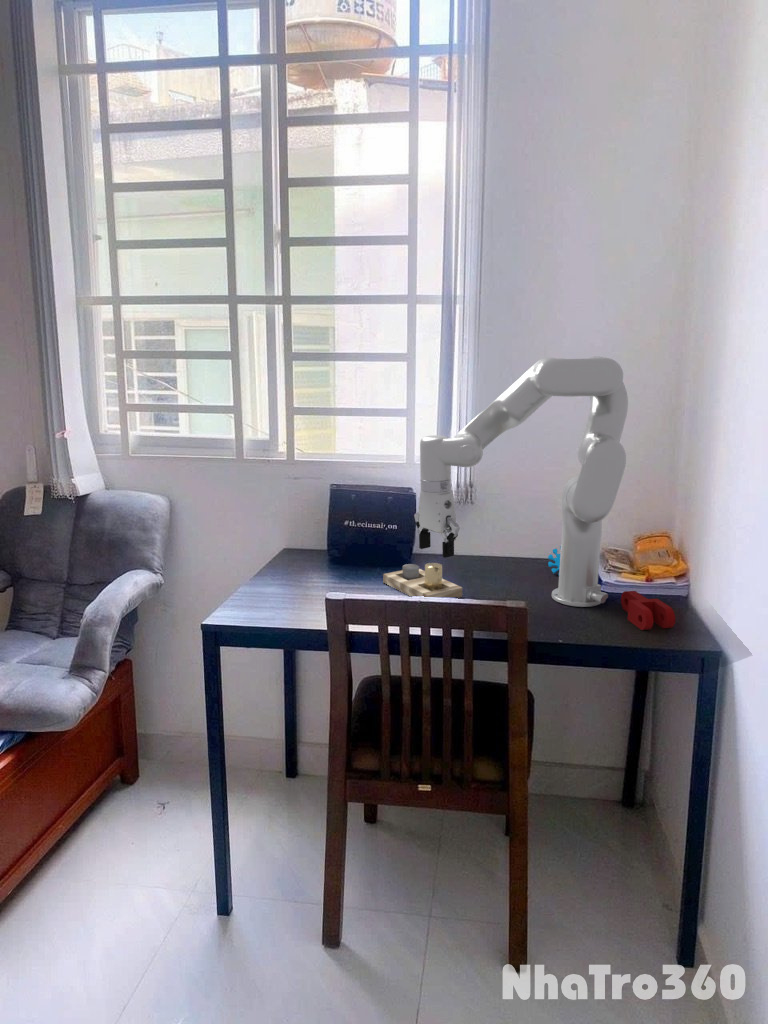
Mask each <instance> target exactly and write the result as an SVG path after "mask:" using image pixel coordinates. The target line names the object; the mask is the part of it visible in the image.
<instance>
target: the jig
mask: <svg viewBox="0 0 768 1024" xmlns="http://www.w3.org/2000/svg"><path fill="white" fill-rule="evenodd" d="M382 576H383V577H382V582H383V584H384V583H385V585H386V584H387V585H386V586H388V585H389V586H388V587H390V586H391V588H392V587H393V589H394V588H396V589H397V590H396V589H395V590H396V591H398V590H399V591H398V592H400V591H401V593H402V592H403V594H404V593H406V594H408V595H409V596H408V595H407V596H408V597H410V596H424V597H458V598H462V597H463V587H462V586H460V585H458V584H456V583H453V582H451V581H448V580H447V579H444V578H442V589H439V590H434V591H429V590H427V589H425V569H424V570H423V569H422V568H420V566H419V565H417V564H414V563H408V564H407V563H406V564H404V565H402V569H401V570H396V571H392V572H386V573H383V574H382ZM406 594H405V595H406ZM458 598H457V599H458Z"/></svg>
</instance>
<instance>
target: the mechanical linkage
mask: <svg viewBox="0 0 768 1024" xmlns="http://www.w3.org/2000/svg"><path fill="white" fill-rule="evenodd" d="M620 605H621V608H622V610H624V611H625V612H627V621H628V622H630V623H631V624H633V625H634V626H635V627H637V628H639V629H640V630H641V631H644V630H645V631H647V630H651V629H653V627H654V623H655V625H658V627H660V628H662V629H671V628H673V627H674V626H675V624H676V615H675V612H674V609H673V608H672V607H671V606H670V605H668V604H666V603H665V602H664V601H662V600H660V599H659V598H647V597H646V596H644V595H642V594H640V593H639V592H638V591H635V590H627V591H626V590H625V591H623V592H622V593H621V597H620Z"/></svg>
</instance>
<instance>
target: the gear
mask: <svg viewBox="0 0 768 1024" xmlns="http://www.w3.org/2000/svg"><path fill="white" fill-rule="evenodd" d="M559 548H560V550H561V545H560V546H559ZM552 553H553V554H554V555H555V556H556V557H553V556H554V555H553V554H549V555H548V557H547V559H548V560H550V561H548V562H547V564H548V567H549V568H551V572H552V574H556V573H557V572H559V569H560V553H558V549H557V548H554V549H552ZM552 561H553V562H552ZM552 567H553V568H552ZM555 567H556V568H555ZM558 576H559V573H558Z"/></svg>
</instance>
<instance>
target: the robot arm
mask: <svg viewBox="0 0 768 1024" xmlns="http://www.w3.org/2000/svg"><path fill="white" fill-rule="evenodd" d="M552 397H565V398H566V397H570V398H571V397H589V399H590V407H589V415H588V418H587V422H586V425H585V428H584V431H583V434H582V438H581V441H580V443H579V447H578V450H577V459H578V461H579V463H580V465H581V468H580V472H579V474H578V475H575V476H573V477H571V478H570V479H569V480H568V481H567V482H566V483H565V485H564V487H563V491H562V497H561V511H562V512H561V513H562V514H561V516H562V517H561V518H562V519H561V522H562V523H561V539H560V546H561V549H560V552H559V554H560V569H559V571H558V574H559V575H558V584H557V585H558V587H557V588H555V589H553V590H552V591H551V598H552V599H553V600H554V601H555V602H557V603H559V604H563V605H566V606H570V607H578V608H579V607H580V608H584V607H585V608H589V607H595V606H598V605H601V604H604V603H605V602H606V601H607V599H608V598H609V594H608V593H606V592H603V591H602V585H601V584H599V573H600V572H599V571H600V570H599V569H600V556H601V543H602V542H601V541H602V531H603V530H602V528H603V527H602V526H603V520H604V519H605V518H606V517H607V516H608V515H609V514H610V512H611V511H612V508H613V506H614V504H615V500H616V498H617V496H618V495H617V494H618V492H619V488H620V485H621V482H622V480H623V476H624V473H625V469H626V464H627V455H626V450H625V448H624V446H623V445H622V444H621V439H622V434H623V431H624V426H625V423H626V420H627V415H628V409H629V396H628V393H627V388H626V385H625V383H624V372H623V368H622V365H620V364H619V363H618V361H616V360H614V359H613V358H610V357H603V356H591V357H588V358H556V357H549V356H548V357H543V358H541V359H539V360H537V361H536V362H535V363H533V364H532V366H530V367H529V368H528V369H527V370H525V372H524V373H523V374H522V375H521V376H520V377H519V378H517V379H516V380H515V381H514V382H513V383H512V384H511V385H509V387H507V389H506V390H504V391H503V392H502V393H501V394H500V395H498V396H497V398H495V399H494V400H493V401H492V402H491V403H489V405H487V407H485V409H484V410H482V411H480V413H478V414H477V415H476V416H475V417H474V418H473V419H471V420H470V421H469V422H468V423H467V425H465V426H464V427H463V428H462V429H461V430H460V431H458V433H457V434H455V436H454V437H453V438H449V437H448V436H446V435H439V434H437V435H427V436H423V437H422V438H421V439H420V442H419V455H420V456H419V458H420V459H419V462H420V463H419V465H420V468H419V469H420V471H419V473H420V492H419V498H418V500H419V502H418V512H415V513H414V521H415V525H416V528H417V533H418V536H419V537H418V540H419V541H418V543H419V544H418V545H419V546H418V547H419V549H421V550H423V549H428V548H430V547H431V531H432V532H434V533H436V534H437V533H438V534H440V536H441V537H442V539H443V541H442V544H441V545H442V550H441V551H442V557H443V558H444V559H445V558H450V557H454V556H455V542H456V540H457V538H458V535H459V531H460V528H461V527H460V525H459V524H458V523H457V516H456V503H455V498H454V493H453V492H452V467H458V468H459V467H460V468H472V467H474V466H477V465H478V464H479V463H480V462H481V460H482V459H483V458H482V457H483V455H484V450H485V448H486V447H488V446H489V445H490V444H491V443H492V442H493V441H494V440H496V438H498V437H499V436H501V435H502V434H503V433H505V432H507V431H509V430H510V429H514V428H516V427H518V426H520V425H521V424H522V423H524V422H526V421H527V419H528V418H529V417H531V416H532V415H533V414H534V413H535V412H536V411H537V410H538V409H539V408H540V407H541V406H542V405H544V404H545V403H546V402H547V401H548V400H549V399H551V398H552ZM447 534H448V535H447Z"/></svg>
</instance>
